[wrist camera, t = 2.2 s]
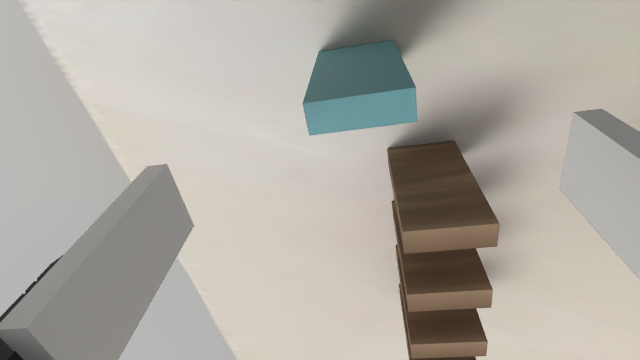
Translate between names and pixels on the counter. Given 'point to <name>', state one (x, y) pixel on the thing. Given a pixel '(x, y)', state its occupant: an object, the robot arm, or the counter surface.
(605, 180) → the robot arm
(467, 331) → the domino
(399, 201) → the domino
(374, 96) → the domino
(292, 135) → the counter surface
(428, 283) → the domino
